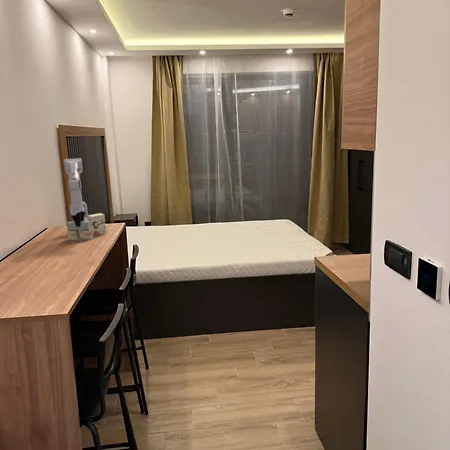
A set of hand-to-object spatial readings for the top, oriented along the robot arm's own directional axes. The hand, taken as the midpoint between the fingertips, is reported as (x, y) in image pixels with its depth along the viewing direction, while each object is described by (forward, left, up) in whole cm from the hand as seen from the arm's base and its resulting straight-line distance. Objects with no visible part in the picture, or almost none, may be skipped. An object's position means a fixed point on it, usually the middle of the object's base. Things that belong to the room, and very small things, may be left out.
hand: (79, 225), depth 242 cm
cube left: (0, -4, -7) cm, 8 cm away
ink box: (-11, +6, -8) cm, 15 cm away
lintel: (0, 0, -2) cm, 2 cm away
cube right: (0, +4, -7) cm, 8 cm away
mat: (0, 0, -8) cm, 8 cm away
